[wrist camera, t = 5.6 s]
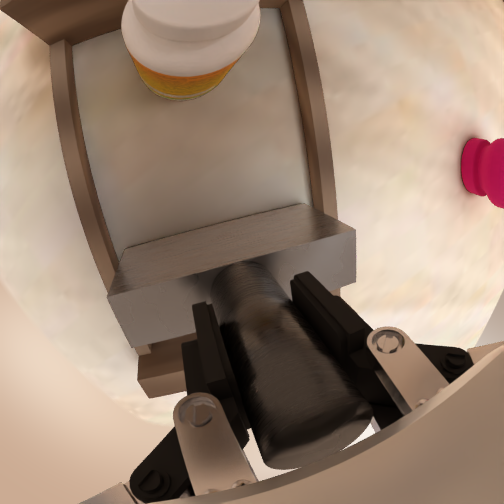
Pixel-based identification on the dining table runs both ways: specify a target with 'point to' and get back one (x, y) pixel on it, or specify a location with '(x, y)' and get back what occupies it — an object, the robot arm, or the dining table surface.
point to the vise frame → (75, 156)
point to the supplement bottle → (187, 42)
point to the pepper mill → (484, 169)
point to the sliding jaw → (255, 321)
